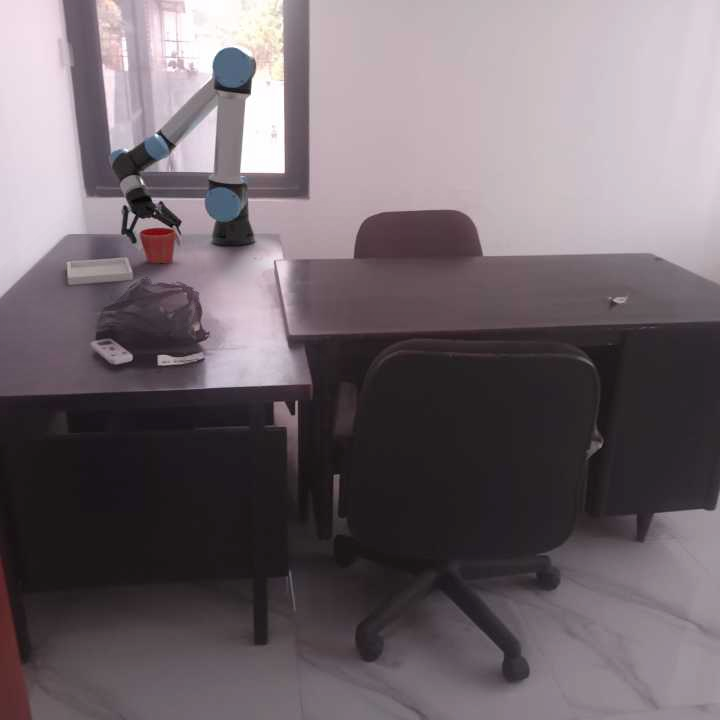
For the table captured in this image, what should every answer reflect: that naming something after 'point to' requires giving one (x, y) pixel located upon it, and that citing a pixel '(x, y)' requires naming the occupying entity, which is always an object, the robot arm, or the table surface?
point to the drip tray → (99, 271)
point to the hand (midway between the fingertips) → (161, 247)
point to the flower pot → (158, 244)
